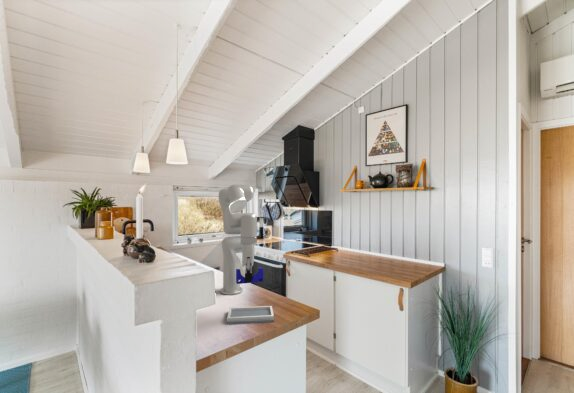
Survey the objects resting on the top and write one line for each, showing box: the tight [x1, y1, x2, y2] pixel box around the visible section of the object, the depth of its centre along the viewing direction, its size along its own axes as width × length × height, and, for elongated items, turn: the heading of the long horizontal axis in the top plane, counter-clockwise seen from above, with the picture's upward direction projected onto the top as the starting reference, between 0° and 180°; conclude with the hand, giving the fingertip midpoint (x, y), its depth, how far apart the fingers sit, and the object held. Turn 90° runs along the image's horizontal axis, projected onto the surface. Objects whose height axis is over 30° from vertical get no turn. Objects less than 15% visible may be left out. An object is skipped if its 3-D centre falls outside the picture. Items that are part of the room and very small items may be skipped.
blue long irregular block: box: [236, 266, 264, 285], centre depth 129 cm, size 12×4×6 cm, turn 109°
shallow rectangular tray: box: [226, 305, 275, 325], centre depth 127 cm, size 14×20×2 cm
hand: (248, 279), depth 129 cm, fingers closed on blue long irregular block, 5 cm apart
